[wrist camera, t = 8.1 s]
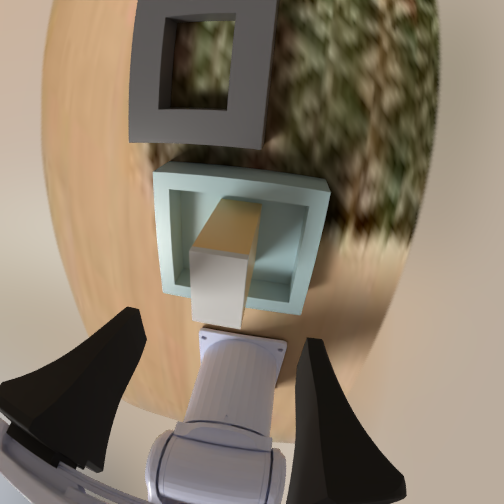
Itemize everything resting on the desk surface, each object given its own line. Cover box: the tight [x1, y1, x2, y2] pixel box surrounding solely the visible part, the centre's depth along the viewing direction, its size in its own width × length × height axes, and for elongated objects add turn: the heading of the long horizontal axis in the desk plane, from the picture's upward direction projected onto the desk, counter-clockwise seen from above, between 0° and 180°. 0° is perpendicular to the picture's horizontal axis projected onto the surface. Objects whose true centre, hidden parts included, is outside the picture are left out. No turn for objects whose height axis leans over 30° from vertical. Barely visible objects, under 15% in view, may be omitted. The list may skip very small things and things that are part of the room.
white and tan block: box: [189, 198, 262, 329], centre depth 16 cm, size 4×3×6 cm, turn 175°
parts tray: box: [153, 161, 331, 315], centre depth 18 cm, size 9×10×2 cm
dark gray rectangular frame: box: [129, 0, 279, 150], centre depth 13 cm, size 10×8×2 cm
